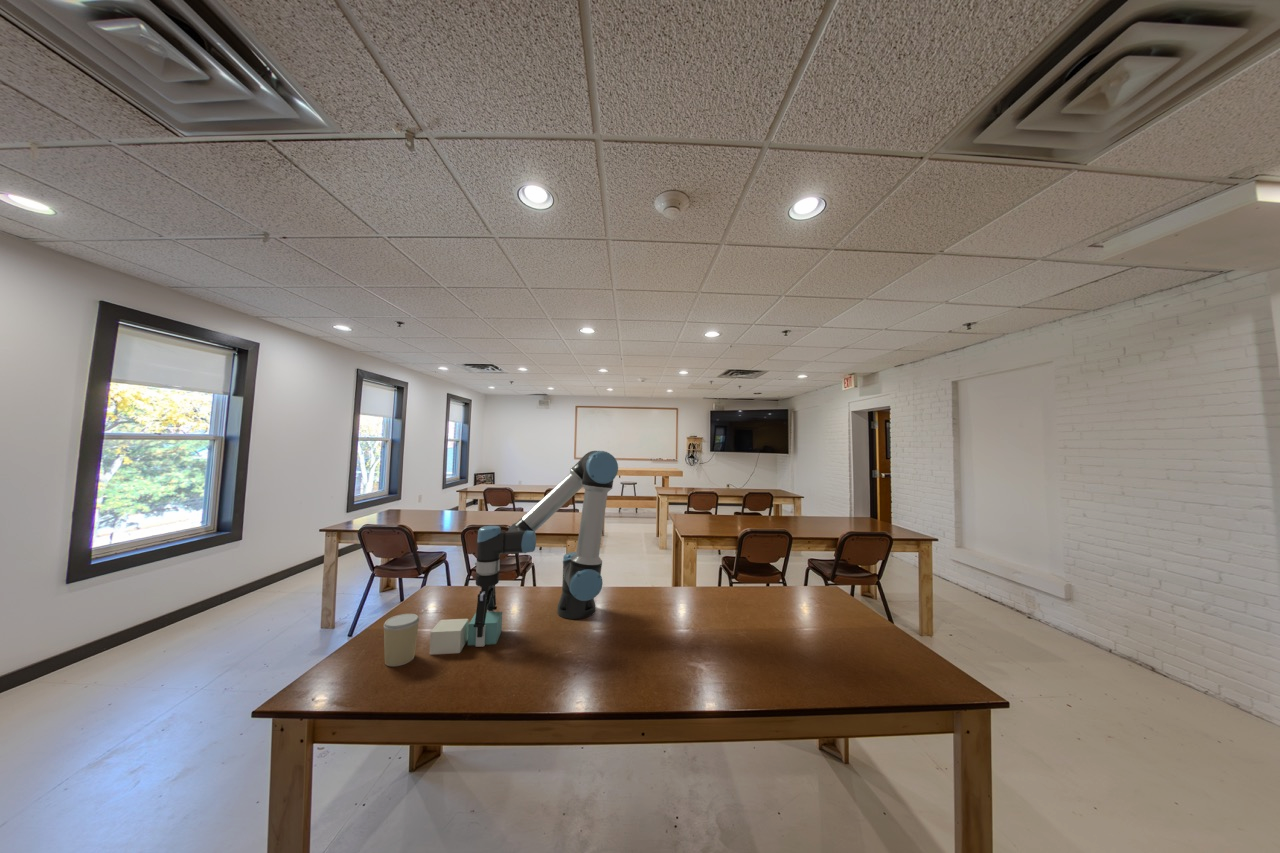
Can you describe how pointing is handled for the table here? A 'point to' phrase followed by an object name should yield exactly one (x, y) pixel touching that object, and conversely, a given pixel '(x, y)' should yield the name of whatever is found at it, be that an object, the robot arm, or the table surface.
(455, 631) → the cream block
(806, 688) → the table surface
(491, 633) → the teal block
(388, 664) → the coffee cup
